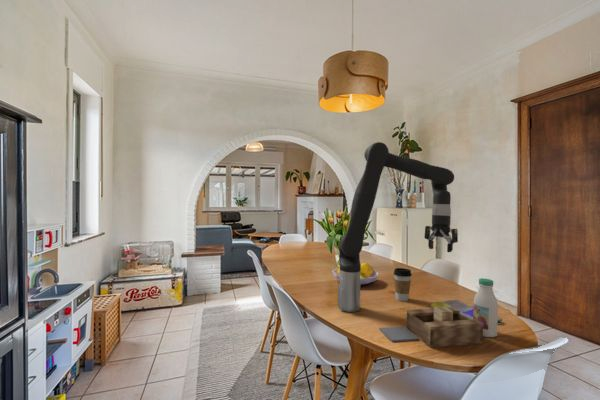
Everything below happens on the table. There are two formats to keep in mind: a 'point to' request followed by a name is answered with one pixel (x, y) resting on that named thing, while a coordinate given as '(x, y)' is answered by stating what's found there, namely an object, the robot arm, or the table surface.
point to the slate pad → (398, 334)
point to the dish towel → (459, 308)
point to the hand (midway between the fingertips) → (440, 250)
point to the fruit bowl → (366, 274)
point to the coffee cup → (402, 283)
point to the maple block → (442, 314)
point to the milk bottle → (486, 308)
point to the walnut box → (444, 328)
